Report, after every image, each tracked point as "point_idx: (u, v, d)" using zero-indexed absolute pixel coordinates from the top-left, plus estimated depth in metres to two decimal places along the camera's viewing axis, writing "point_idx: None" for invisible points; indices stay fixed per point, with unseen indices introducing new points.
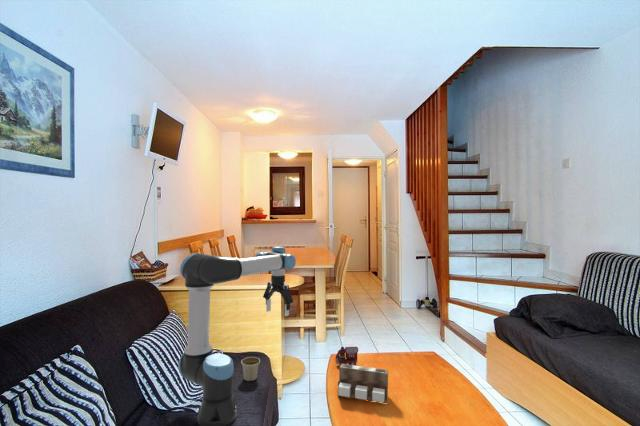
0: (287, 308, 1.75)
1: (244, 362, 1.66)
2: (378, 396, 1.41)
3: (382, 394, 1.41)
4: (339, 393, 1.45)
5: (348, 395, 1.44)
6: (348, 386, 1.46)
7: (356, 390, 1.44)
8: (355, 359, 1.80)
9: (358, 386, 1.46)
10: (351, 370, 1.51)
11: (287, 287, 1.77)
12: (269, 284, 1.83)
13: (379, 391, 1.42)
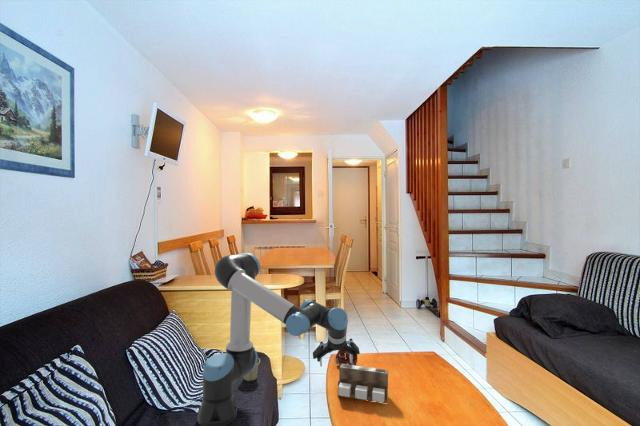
0: None
1: None
2: (378, 396, 1.41)
3: (382, 394, 1.41)
4: (339, 393, 1.45)
5: (348, 395, 1.44)
6: (348, 386, 1.46)
7: (356, 390, 1.44)
8: (355, 359, 1.80)
9: (358, 386, 1.46)
10: (351, 370, 1.51)
11: (320, 345, 1.36)
12: None
13: (379, 391, 1.42)
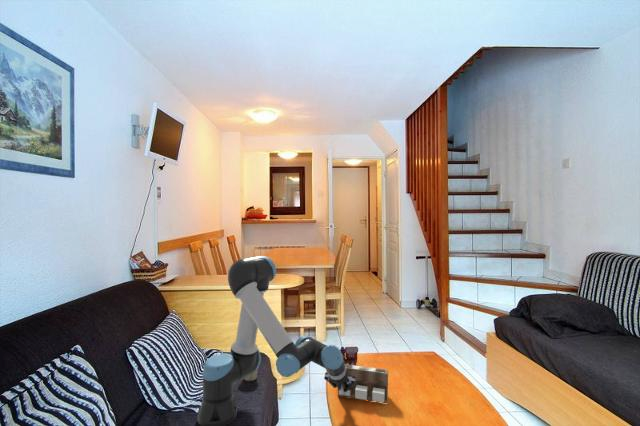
0: None
1: None
2: (378, 396, 1.41)
3: (382, 394, 1.41)
4: (339, 392, 1.46)
5: (348, 394, 1.45)
6: None
7: (356, 390, 1.44)
8: (355, 359, 1.80)
9: (358, 386, 1.46)
10: (351, 370, 1.51)
11: None
12: (351, 377, 1.33)
13: (379, 391, 1.42)
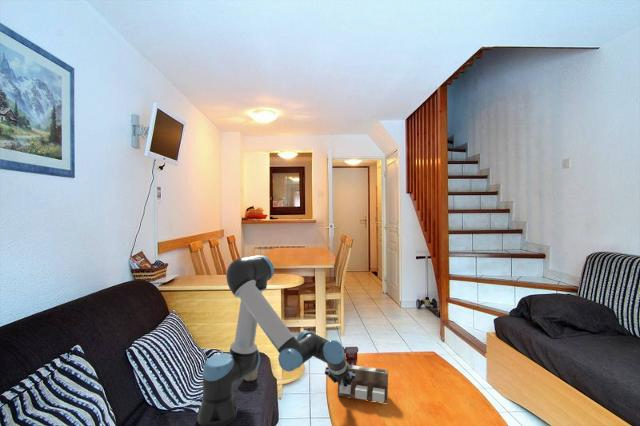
0: None
1: None
2: (378, 396, 1.41)
3: (382, 394, 1.41)
4: (340, 390, 1.48)
5: (349, 392, 1.47)
6: None
7: (356, 390, 1.44)
8: (355, 359, 1.80)
9: (358, 386, 1.46)
10: (351, 370, 1.51)
11: None
12: (352, 372, 1.34)
13: (379, 391, 1.42)
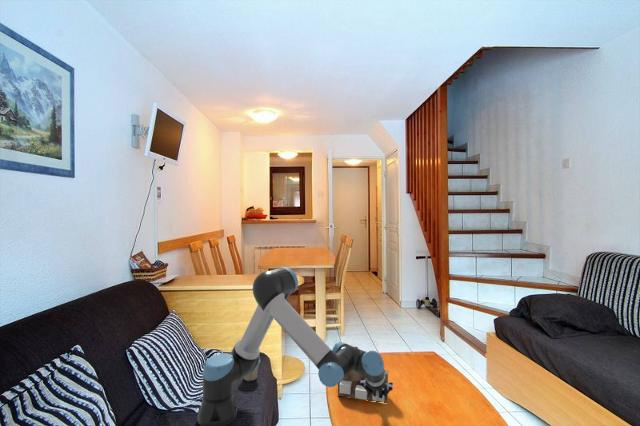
0: None
1: None
2: None
3: None
4: (340, 390, 1.48)
5: (349, 392, 1.47)
6: (349, 384, 1.48)
7: (356, 390, 1.44)
8: None
9: (358, 386, 1.46)
10: (351, 370, 1.51)
11: None
12: (389, 383, 1.29)
13: None
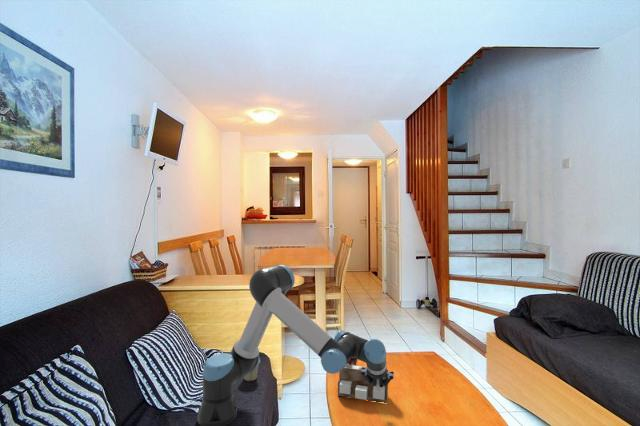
0: None
1: None
2: (379, 394, 1.43)
3: (382, 391, 1.43)
4: (340, 390, 1.48)
5: (349, 392, 1.47)
6: (349, 384, 1.48)
7: (356, 390, 1.44)
8: (355, 359, 1.80)
9: (358, 386, 1.46)
10: (351, 370, 1.51)
11: None
12: (390, 372, 1.29)
13: None
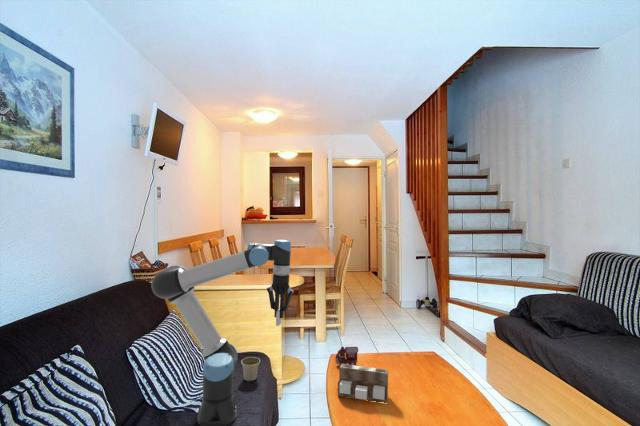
0: None
1: (244, 362, 1.66)
2: (379, 394, 1.43)
3: (382, 391, 1.43)
4: (340, 390, 1.48)
5: (349, 392, 1.47)
6: (349, 384, 1.48)
7: (356, 390, 1.44)
8: (355, 359, 1.80)
9: (358, 386, 1.46)
10: (351, 370, 1.51)
11: None
12: None
13: (380, 388, 1.45)
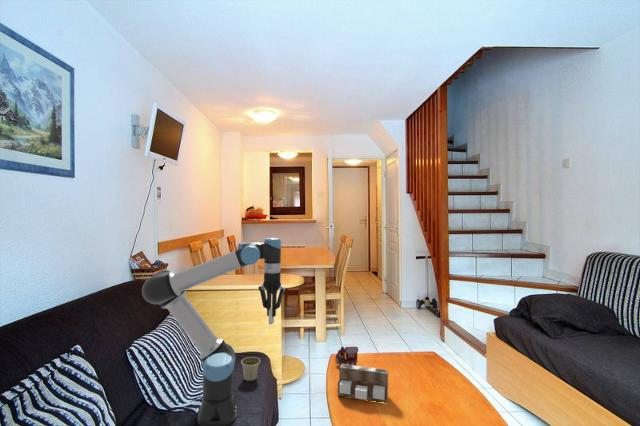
0: None
1: (244, 362, 1.66)
2: (379, 394, 1.43)
3: (382, 391, 1.43)
4: (340, 390, 1.48)
5: (349, 392, 1.47)
6: (349, 384, 1.48)
7: (356, 390, 1.44)
8: (355, 359, 1.80)
9: (358, 386, 1.46)
10: (351, 370, 1.51)
11: None
12: None
13: (380, 388, 1.45)
